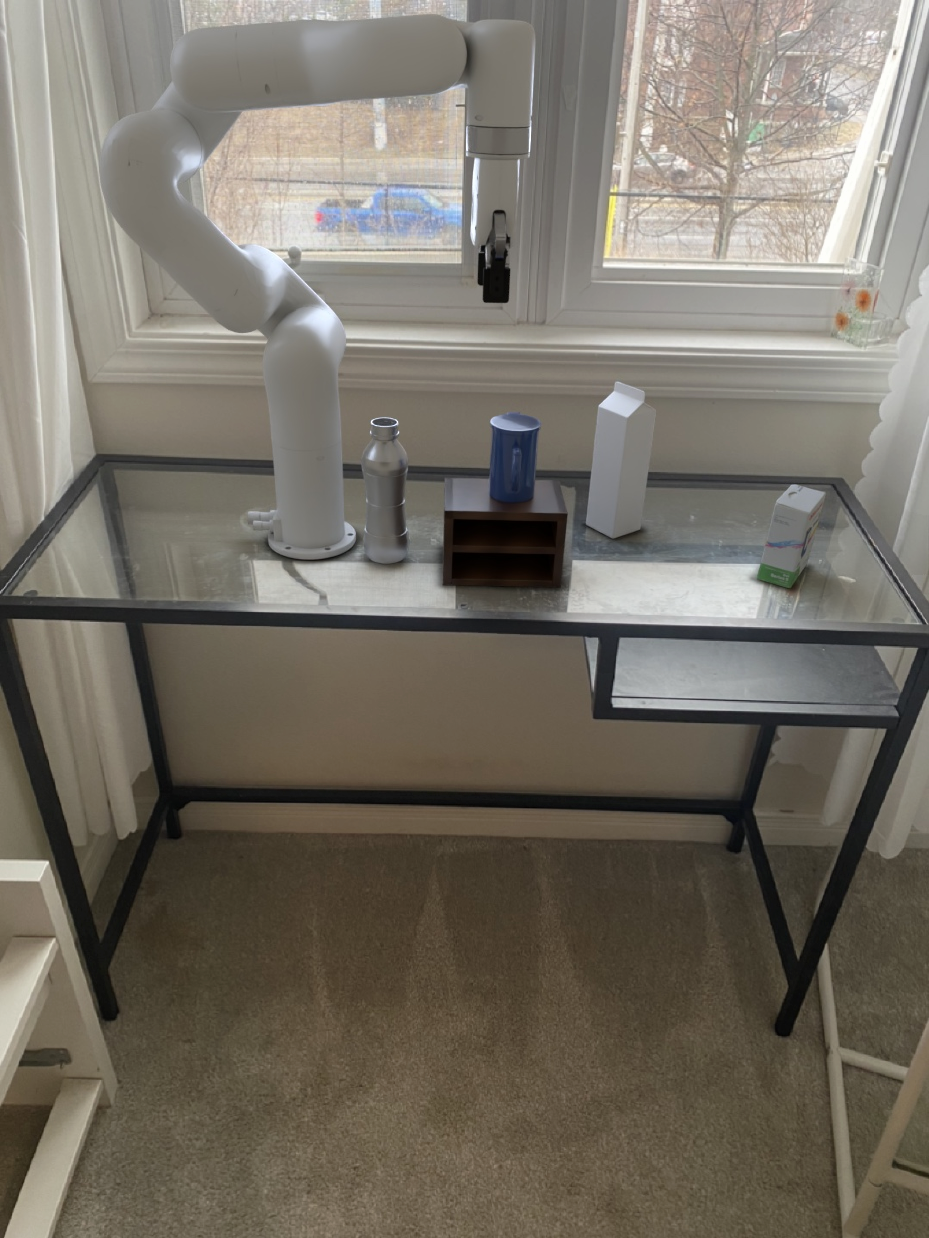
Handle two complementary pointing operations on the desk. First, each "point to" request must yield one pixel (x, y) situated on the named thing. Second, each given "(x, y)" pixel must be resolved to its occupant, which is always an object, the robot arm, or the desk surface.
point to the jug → (513, 457)
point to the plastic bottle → (385, 493)
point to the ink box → (791, 535)
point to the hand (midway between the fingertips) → (492, 293)
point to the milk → (620, 462)
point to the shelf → (503, 536)
